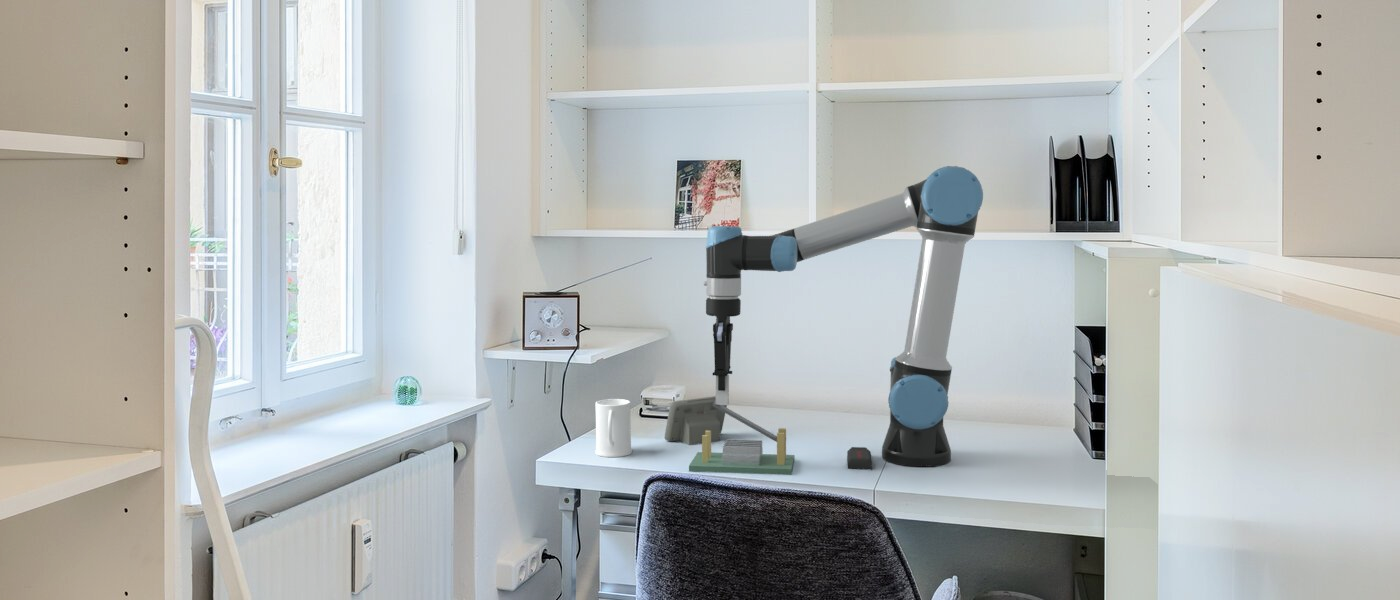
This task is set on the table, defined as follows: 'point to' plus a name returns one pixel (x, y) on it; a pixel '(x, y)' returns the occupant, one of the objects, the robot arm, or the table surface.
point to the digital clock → (694, 420)
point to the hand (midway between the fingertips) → (722, 404)
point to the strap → (745, 421)
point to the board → (768, 465)
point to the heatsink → (742, 452)
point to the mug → (613, 428)
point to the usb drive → (859, 458)
